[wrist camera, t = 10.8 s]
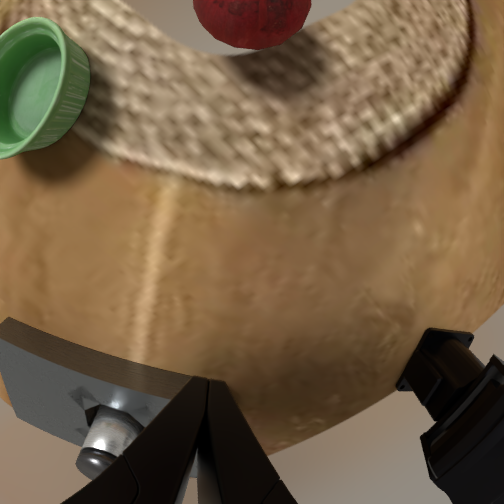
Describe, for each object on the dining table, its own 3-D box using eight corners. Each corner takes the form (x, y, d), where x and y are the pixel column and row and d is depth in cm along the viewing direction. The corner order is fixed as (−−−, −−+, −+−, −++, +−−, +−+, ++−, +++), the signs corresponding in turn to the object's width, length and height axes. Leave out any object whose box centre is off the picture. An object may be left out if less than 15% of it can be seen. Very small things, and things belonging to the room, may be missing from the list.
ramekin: (27, 35, 13) (-6, 21, 9) (119, 39, 14) (91, 14, 10) (-7, 145, 16) (-45, 148, 11) (75, 167, 17) (37, 173, 13)
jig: (225, 382, 22) (223, 410, 19) (205, 455, 25) (203, 478, 22) (8, 316, 20) (-10, 333, 17) (28, 399, 23) (16, 417, 20)
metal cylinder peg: (147, 395, 22) (125, 470, 15) (147, 423, 23) (129, 492, 16) (103, 383, 22) (71, 452, 14) (106, 412, 23) (80, 477, 15)
